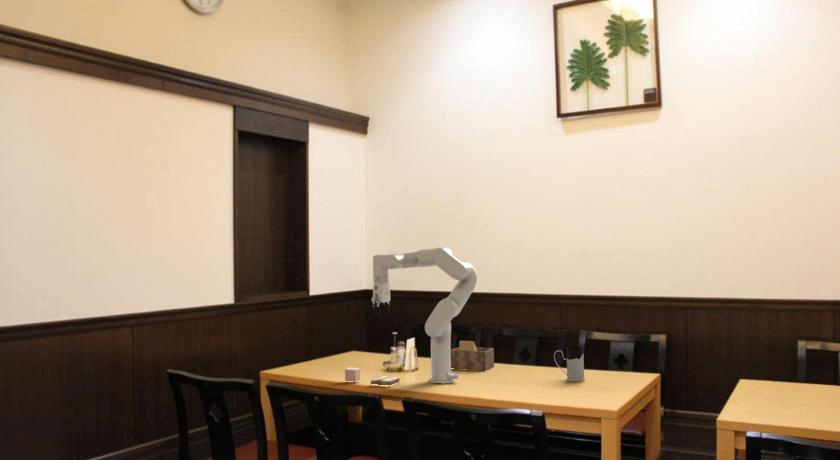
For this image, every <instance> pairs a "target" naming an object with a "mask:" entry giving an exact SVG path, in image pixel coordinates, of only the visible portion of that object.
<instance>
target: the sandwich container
mask: <svg viewBox="0 0 840 460" xmlns="http://www.w3.org/2000/svg"><path fill="white" fill-rule="evenodd" d="M458 343H459V347H460V351H478V350H477V348H478V347H477V346H476V344H475V341H474V340H473V341H472V340H471V341H470V340H460V341H459V342H458ZM472 370H474V369H472ZM472 370H471V371H472Z"/></svg>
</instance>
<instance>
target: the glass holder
mask: <svg viewBox="0 0 840 460" xmlns="http://www.w3.org/2000/svg"><path fill="white" fill-rule="evenodd" d="M557 352H560V353H561V354H562V358H563V360H565V361H566V371H565V370H564V369H563V368H562V367H560V365H558V362H557V361H556V353H557ZM564 355H565V354H564V353H563V351H562V350H556V351H555V352H554V354H553V359H554V362H555V364H556V366H557V367H558V368H559V369H560V370H561V371H562V372H564V374H566V381H568V382H584V381H586V378H585V363H584V359H585V357H584V348H583V347H580V346H568V347H566V358H564Z"/></svg>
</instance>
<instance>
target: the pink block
mask: <svg viewBox="0 0 840 460" xmlns="http://www.w3.org/2000/svg"><path fill="white" fill-rule="evenodd" d="M360 371H361V368H359V367H346V368H344V381H345V380H346V381H354V382H356V381H359V380H360V381H361V372H360Z"/></svg>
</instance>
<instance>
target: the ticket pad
mask: <svg viewBox="0 0 840 460" xmlns="http://www.w3.org/2000/svg"><path fill="white" fill-rule="evenodd" d="M400 381H401V380H400V378H399V376H398V377H397V376H387V375H385V376H384V375H382V376H380V375H379V376H378V377H375V378H372V380H370V385H371V384H378V385H392V384H395V383H398V382H400Z"/></svg>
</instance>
